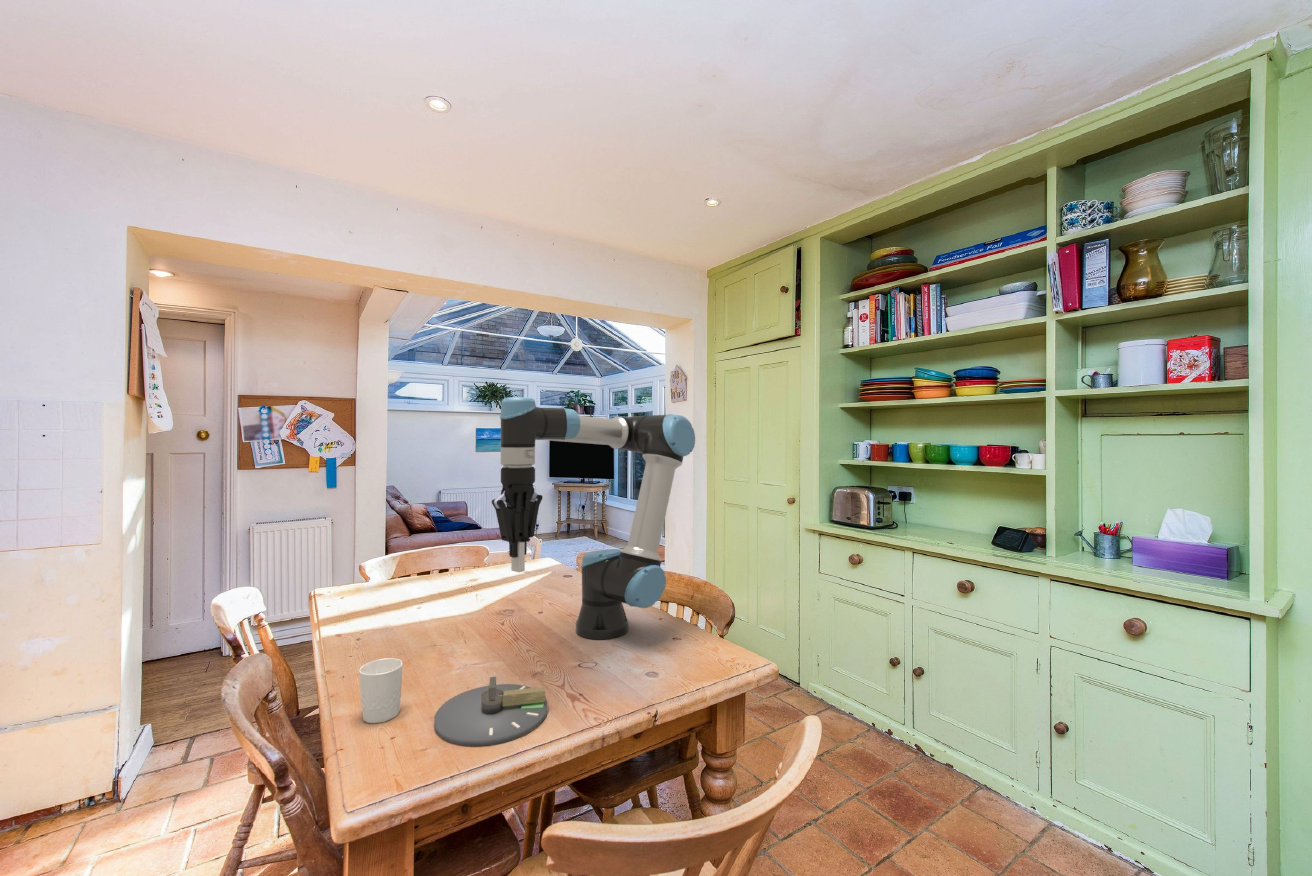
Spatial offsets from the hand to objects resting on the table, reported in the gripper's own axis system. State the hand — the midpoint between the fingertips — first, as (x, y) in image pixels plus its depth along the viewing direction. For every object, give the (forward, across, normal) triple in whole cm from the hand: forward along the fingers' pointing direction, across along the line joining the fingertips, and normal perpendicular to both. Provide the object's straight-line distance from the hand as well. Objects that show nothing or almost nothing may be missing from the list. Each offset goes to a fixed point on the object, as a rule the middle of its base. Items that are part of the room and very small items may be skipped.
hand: (518, 570), depth 122 cm
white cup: (+27, -24, +13) cm, 38 cm away
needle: (+25, -8, -8) cm, 27 cm away
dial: (+26, -11, -5) cm, 29 cm away
